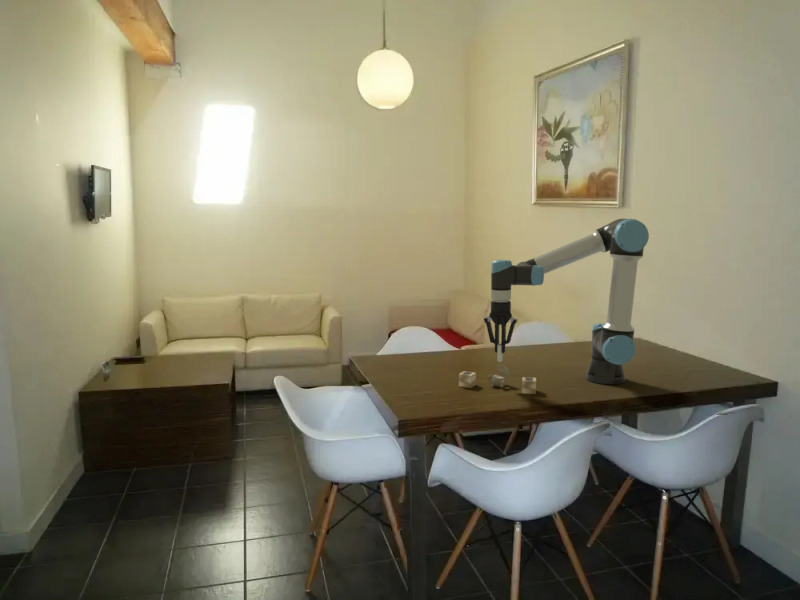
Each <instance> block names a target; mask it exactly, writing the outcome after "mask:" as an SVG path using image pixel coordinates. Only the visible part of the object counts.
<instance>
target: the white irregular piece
mask: <svg viewBox="0 0 800 600" xmlns="http://www.w3.org/2000/svg"><path fill="white" fill-rule="evenodd" d="M496 369H497V371H498V372H499V373H501V375H502V376H501V375H499V374H498V375H497V374H494V375H493V374H492V373H490V374H489V375H488V376H487V381H488V382H489V383H490V384H491V387H496V388H497V387H498V388H501V389H503V388H504V387H505V386H507V385H508V380H509V377H510V370H509V369H508V368H507V367H506V366H505V365H504V364H501V363H497V366H496Z"/></svg>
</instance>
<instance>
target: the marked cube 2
mask: <svg viewBox="0 0 800 600" xmlns="http://www.w3.org/2000/svg"><path fill="white" fill-rule="evenodd" d="M521 380H522V381H521V383H522V384H521V394H527V395H536V394H537V377H525V376H522V379H521Z"/></svg>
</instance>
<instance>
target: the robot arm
mask: <svg viewBox="0 0 800 600" xmlns="http://www.w3.org/2000/svg"><path fill="white" fill-rule="evenodd" d="M649 236H650V235H649V230H648V228H647V226H646V225H645V224H644V223H643V222H642V221H640V220H639V219H635V218H618V219H615V220H614V221H610V223H608V224H605V225H603V226H601V227H599V228H597V229H595V230H594V231H593V233H592V234H589V235H586V236H585V237H582V238H580V239H576V240H575V241H572V242H569V243H567V244H565V245H562V246H560V247H557V248H555V249H552V250H550V251H548V252H545V253H543V254H540V255H537V256H536V257H533V258H531V259H530V258H529V259H528V260H525V261H520V262H519V263H517V264H516V265H513V263H512V261H511V260H509V259H495V260H493V261H492V262H491V272H490V274H491V275H490V278H491V280H490V284H491V285H490V286H491V287H490V289H491V290H490V294H491V295H490V300H491V301H490V312H489V315H488V316H486V317H484V318H483V321H484V323H485V324H486V330H487V333H488V337H489V342H490V343H491V344H492V343H493V344H494V353H497V354H496V355H497V356H496V357H497V358H496V359H497V360H496V362H500V363H501V362H502V361H504V360H503V355H504V354H505V353H506V345H508V344H510V343H511V340H512V336H513V333H514V331H515V330H514V329H515V326H516V324H517V323H518V319H517V318H514V317H513V315H512V312H511V306H512V302H511V300H512V286H533V287H535V286H542V285H543V284H544V281H545V280H544V278H545V274H548V273H550V272H553V271H555V270H558V269H560V268H562V267H563V268H564V267H565V266H568V265H571V264H574V263H576V262H577V261H580V260H583V259H587V257H591V256H593V255H595V254H598V253H600V252H602V253H607V252H609V255H610V257H611V258H612V260H613V261H612V272H611V277H610V278H611V280H610V281H611V282H610V288H609V289H610V290H609V297H608V305H607V307H608V308H607V318H606V322H605V323H604V322H603V323H602V322H601V323H600V322H599V323H598V322H597V323H594V324H593V325H592V330H591V354H590V355H591V356H590V357H591V358H590V361H589V365H588V367H587V369H586V373H585V379H586V380H587V381H589V382H592V383H596V384H601V385H603V384H604V385H619V384H624V383H625V382H626V373H625V370H624V366H623V365H625V364H627V363H629V362H630V361H632V359H633V358H634V356H635V355H636V352H637V351H636V349H637V348H636V343H635V341H634V338H635V337H634V335H635V328H634V327H633V326H632V324H631V323H632V315H633V307H634V299H635V298H634V297H635V289H636V281H637V280H636V279H637V273H638V270H637V269H638V263H639V262H638V261H640V260H641V259H643V257H644V251H645V250H644V249H645V247H646V246H647V244H648V242H649V239H650V238H649ZM491 321H492V322H493V324H494V332H493V327H492V322H491ZM509 322H510V325H509V329H508V332H507V324H508V323H509ZM500 327H501V337H500ZM500 338H501V339H500ZM500 340H501V342H500Z"/></svg>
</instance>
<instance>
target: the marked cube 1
mask: <svg viewBox="0 0 800 600" xmlns="http://www.w3.org/2000/svg"><path fill="white" fill-rule="evenodd" d="M476 383H477V373H476V372H472V371H466V370H465V371H462V372H459V374H458V387H461V388H467V389H472V388H473V387H475V386H476Z"/></svg>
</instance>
